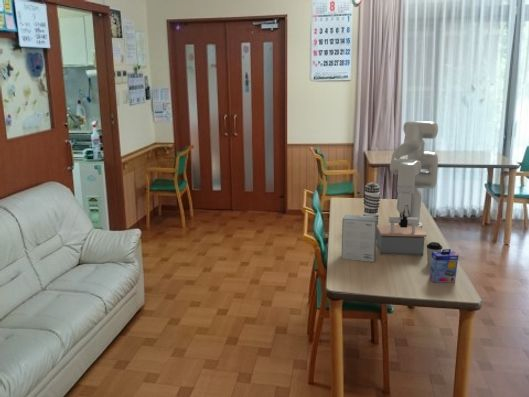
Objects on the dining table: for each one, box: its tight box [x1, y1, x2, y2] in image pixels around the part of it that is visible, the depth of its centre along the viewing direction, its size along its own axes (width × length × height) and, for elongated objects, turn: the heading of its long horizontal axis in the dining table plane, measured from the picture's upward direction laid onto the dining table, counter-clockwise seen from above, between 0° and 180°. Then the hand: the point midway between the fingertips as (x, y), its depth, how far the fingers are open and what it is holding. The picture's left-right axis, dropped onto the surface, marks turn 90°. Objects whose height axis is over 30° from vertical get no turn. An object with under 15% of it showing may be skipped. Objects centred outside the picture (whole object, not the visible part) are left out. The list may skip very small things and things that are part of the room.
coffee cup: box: [426, 241, 443, 267], centre depth 231 cm, size 7×7×10 cm
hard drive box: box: [341, 214, 377, 263], centre depth 238 cm, size 16×8×20 cm, turn 71°
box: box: [376, 229, 426, 257], centre depth 250 cm, size 15×20×9 cm
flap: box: [377, 216, 427, 238], centre depth 247 cm, size 16×21×8 cm
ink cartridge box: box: [429, 248, 459, 283], centre depth 214 cm, size 10×6×14 cm, turn 95°
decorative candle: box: [362, 182, 381, 225], centre depth 283 cm, size 9×9×25 cm
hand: (402, 225), depth 243 cm, fingers closed on flap, 2 cm apart
